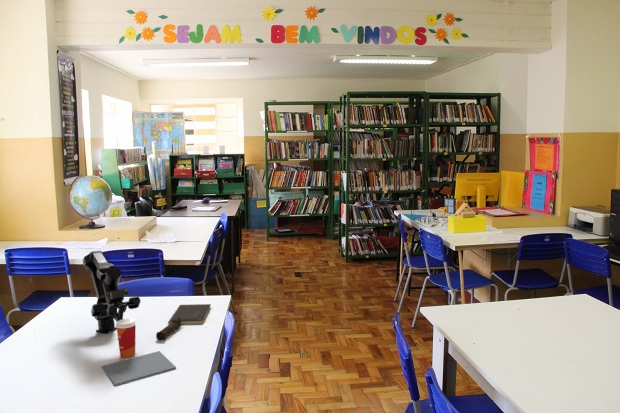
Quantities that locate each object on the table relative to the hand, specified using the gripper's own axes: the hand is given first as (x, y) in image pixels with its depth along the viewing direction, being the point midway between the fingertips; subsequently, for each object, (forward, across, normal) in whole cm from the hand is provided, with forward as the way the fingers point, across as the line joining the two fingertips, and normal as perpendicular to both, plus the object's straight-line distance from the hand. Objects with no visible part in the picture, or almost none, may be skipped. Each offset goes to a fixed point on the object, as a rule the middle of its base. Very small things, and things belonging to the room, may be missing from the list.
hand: (121, 324), depth 202 cm
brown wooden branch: (+3, +22, +12) cm, 26 cm away
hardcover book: (-7, +38, +23) cm, 45 cm away
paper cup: (+13, 0, +3) cm, 13 cm away
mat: (+22, 0, -7) cm, 24 cm away
